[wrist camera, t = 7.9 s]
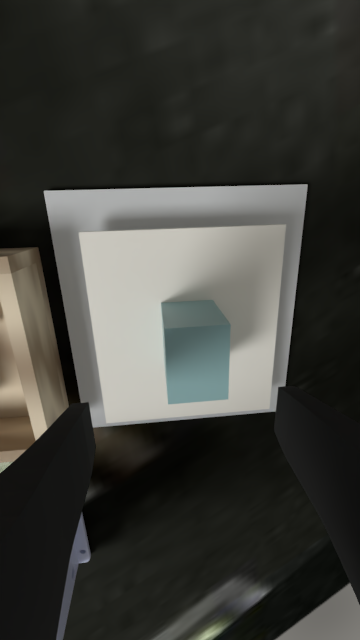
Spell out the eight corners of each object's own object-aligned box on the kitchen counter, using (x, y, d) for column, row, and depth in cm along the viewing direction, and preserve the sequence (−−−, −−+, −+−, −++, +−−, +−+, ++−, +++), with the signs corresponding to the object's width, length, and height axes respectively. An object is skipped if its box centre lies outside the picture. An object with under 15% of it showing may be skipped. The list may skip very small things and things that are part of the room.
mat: (280, 407, 23) (282, 410, 23) (86, 424, 22) (85, 428, 21) (304, 184, 17) (307, 184, 17) (46, 191, 16) (43, 190, 16)
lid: (259, 392, 22) (297, 453, 16) (110, 404, 21) (95, 474, 15) (271, 223, 18) (328, 227, 12) (86, 230, 17) (54, 238, 11)
